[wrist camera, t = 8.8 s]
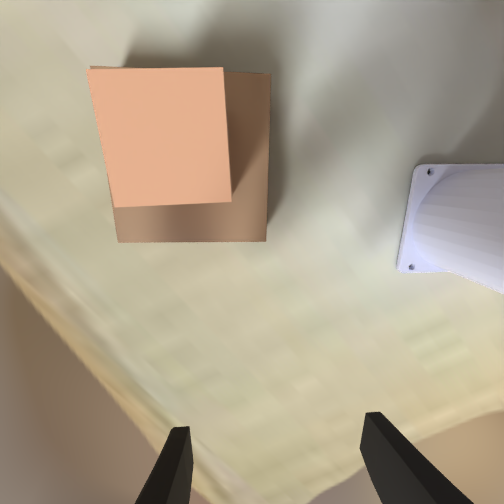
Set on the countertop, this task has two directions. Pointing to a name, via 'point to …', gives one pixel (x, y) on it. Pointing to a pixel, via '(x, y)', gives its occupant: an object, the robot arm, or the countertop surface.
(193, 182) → the peach block
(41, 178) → the countertop surface
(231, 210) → the walnut box
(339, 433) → the countertop surface
